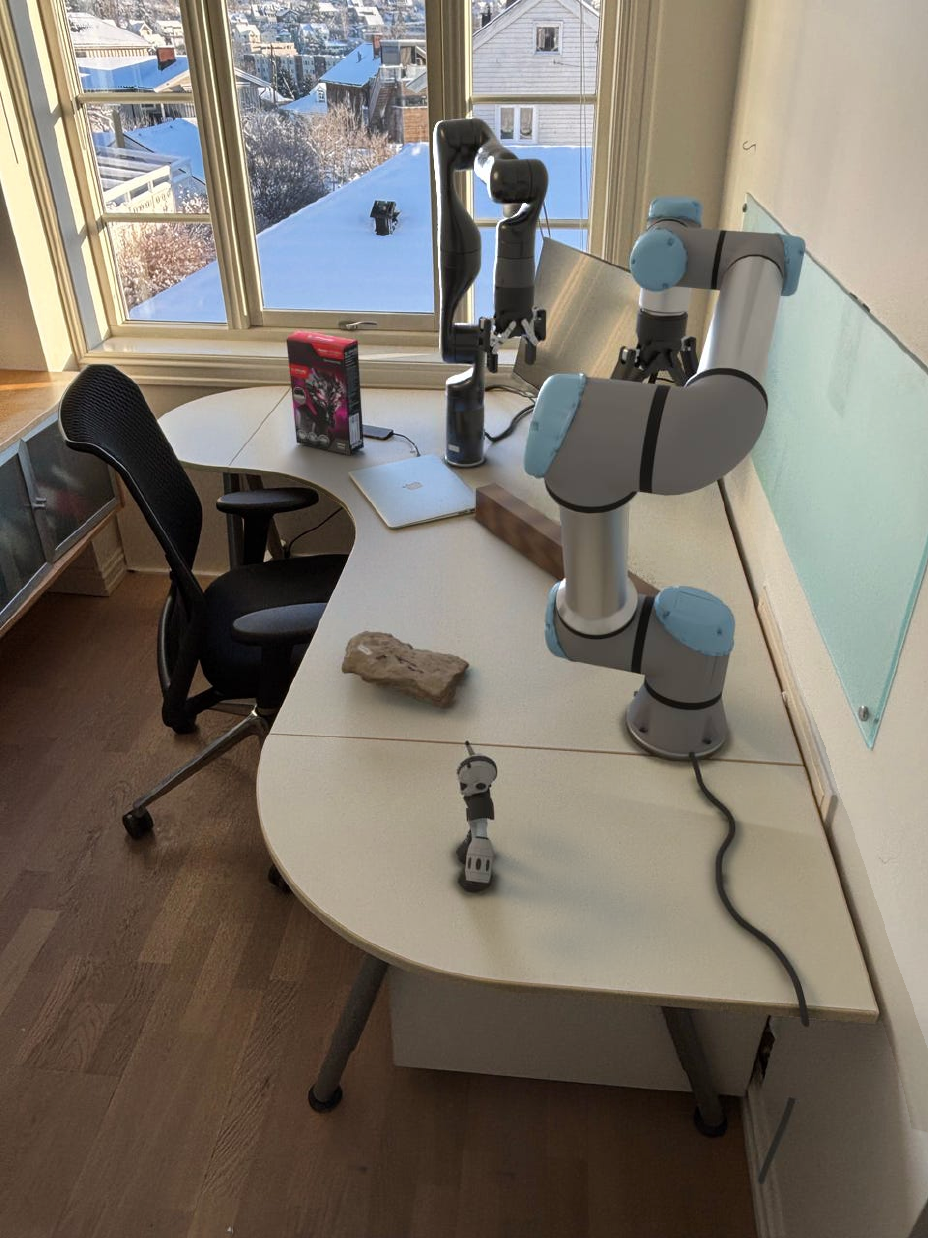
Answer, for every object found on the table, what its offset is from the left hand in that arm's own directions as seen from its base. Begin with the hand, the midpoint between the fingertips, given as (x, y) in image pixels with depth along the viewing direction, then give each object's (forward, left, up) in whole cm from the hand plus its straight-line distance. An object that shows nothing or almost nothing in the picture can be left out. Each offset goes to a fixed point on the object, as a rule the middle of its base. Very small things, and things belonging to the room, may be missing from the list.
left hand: (511, 367), depth 177 cm
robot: (+91, +17, -36) cm, 99 cm away
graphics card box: (-31, -53, -36) cm, 71 cm away
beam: (+12, +14, -36) cm, 40 cm away
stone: (+56, -5, -36) cm, 66 cm away
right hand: (+26, +29, -1) cm, 39 cm away
